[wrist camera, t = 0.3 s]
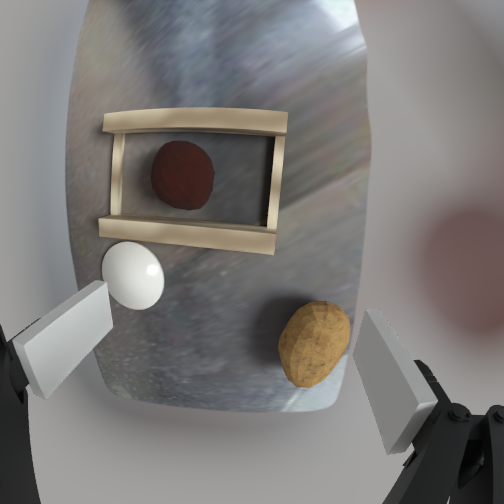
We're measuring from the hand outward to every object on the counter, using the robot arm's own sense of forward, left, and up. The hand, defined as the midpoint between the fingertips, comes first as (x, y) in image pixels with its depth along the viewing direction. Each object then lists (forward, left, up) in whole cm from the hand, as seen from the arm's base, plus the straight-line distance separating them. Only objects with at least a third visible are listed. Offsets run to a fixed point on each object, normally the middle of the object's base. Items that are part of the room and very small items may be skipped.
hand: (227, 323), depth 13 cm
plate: (+9, -19, -26) cm, 33 cm away
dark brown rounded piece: (-6, -10, -26) cm, 28 cm away
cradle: (-6, -10, -26) cm, 28 cm away
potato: (+15, +9, -26) cm, 31 cm away
